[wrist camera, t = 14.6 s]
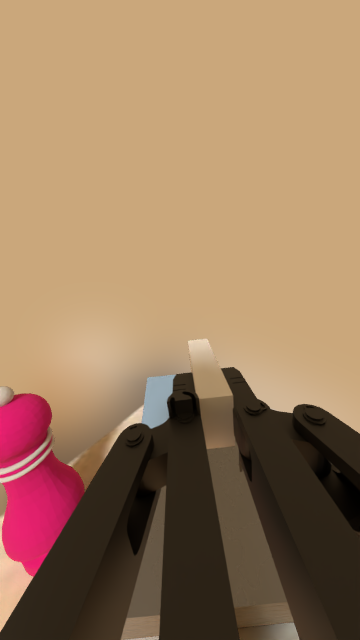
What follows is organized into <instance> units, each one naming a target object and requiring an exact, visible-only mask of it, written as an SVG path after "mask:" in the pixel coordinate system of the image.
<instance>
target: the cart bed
mask: <svg viewBox="0 0 360 640" xmlns="http://www.w3.org/2000/svg"><path fill="white" fill-rule="evenodd" d="M207 454H208V459H209V465H210V471H211V477H212V483H213V488H214V494H215V500H216V506H217V512H218V517H219V523H220V529H221V535H222V540H223V546H224V552H225V558H226V564H227V569H228V575H229V581H230V587H231V593H232V598H233V604H234V610H235V616H236V622H237V627H238V628H241V627H251V626H261V625H271V624H280V623H290V622H294V620H293V617H292V614H291V611H290V608H289V605H288V602H287V599H286V596H285V593H284V590H283V587H282V585H281V582H280V579H279V576H278V573H277V570H276V567H275V564H274V561H273V558H272V555H271V552H270V549H269V546H268V543H267V540H266V537H265V534H264V531H263V528H262V525H261V522H260V519H259V516H258V513H257V510H256V507H255V504H254V501H253V498H252V495H251V492H250V489H249V486H248V483H247V480H246V477H245V474H244V471H243V468H242V471H243V472H240V469H239V449H238V445H237V442H236V439H235V446H231V447H221V448H212V449H207ZM165 501H166V486H164V487H162V488H161V492H160V495H159V499H158V503H157V506H156V510H155V514H154V518H153V521H152V525H151V529H150V532H149V536H148V540H147V544H146V547H145V551H144V555H143V558H142V562H141V566H140V570H139V573H138V577H137V581H136V584H135V588H134V592H133V596H132V599H131V603H130V607H129V610H128V614H127V618H126V622H125V625H124V629H123V633H122V637H121V640H124V639H134V638H144V637H153V636H159V629H160V607H161V586H162V565H163V544H164V522H165Z"/></svg>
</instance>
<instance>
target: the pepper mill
mask: <svg viewBox="0 0 360 640" xmlns="http://www.w3.org/2000/svg"><path fill="white" fill-rule="evenodd" d="M51 418H52V412H51V408H50V406H49V404H48V403H47V401H46V400H45V399H44V398H42V397H40V396H38V395H35V394H18V395H14V392H13V390H12V389H11V388H9V387H7V386H1V387H0V483H2V484H3V485H4V487H5V490H6V493H7V496H8V502H7V508H6V511H5V516H4V521H3V526H2V541H3V545H4V548H5V551H6V553H7V555H8V556H9V557H10V558H11V559H12V560H14V561H18V562H22V564H23V566H24V568H25V570H26V572H27V573H28V574H29V575H31V576H35V574H36V572H37V571H38V569H39V567H40V566H41V564H42V563H43V561H44V559H45V558H46V556H47V554H48V553H49V551H50V549H51V548H52V546H53V544H54V543H55V541H56V539H57V538H58V536H59V534H60V533H61V531H62V529H63V528H64V526H65V524H66V523H67V521H68V519H69V518H70V516H71V515H72V513H73V511H74V510H75V508H76V506H77V505H78V503H79V501H80V500H81V498H82V496H83V495H84V484H83V481H82V479H81V477H80V475H79V474H78V473H77V472H76V471H75V470H74V469H73V468H72V467H70V466H68V465H66V464H64V463H62V462H60V461H59V460H58V459H57V458H56V457H55V456H54V453H53V451H52V447H53V445H54V441H55V438H54V435H53V434H52V429H51V428H50V427H49V425H50V423H51Z"/></svg>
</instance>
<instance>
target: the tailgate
mask: <svg viewBox="0 0 360 640" xmlns="http://www.w3.org/2000/svg"><path fill="white" fill-rule="evenodd" d="M175 376H176V375H169V376H159V377H150V378H147V386H146V393H145V401H144V409H143V417H142V423H143V424H146V425H148V426H149V427H150V428H154V427H156V426H159V425H161V424H163V423H164V422H165V421H167V419H168V418H169V413H168V407H167V399H168V397H169V396H170V395H171V394H172V392H173V379H174V377H175Z"/></svg>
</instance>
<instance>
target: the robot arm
mask: <svg viewBox="0 0 360 640" xmlns="http://www.w3.org/2000/svg"><path fill="white" fill-rule="evenodd" d="M188 347H189V356H190V365H191V373H183V374H176V376H175V377H174V379H173V392H172V394H171V395H170V396H169V397H168V399H167V407H168V413H169V418H168V419H167V421H165V422H164V423H163V424H161V425H159V426H156V427H154V428H150V427H149V426H148V425H146V424H143V423H138V424H133V425H131V426H129V427H127V428H126V429H125V430H123V432H122V433H121V434H120V435H119V437H118V438H117V440H116V442H115V443H114V445H113V447H112V448H111V450H110V452H109V453H108V455H107V457H106V458H105V460H104V462H103V463H102V465H101V467H100V468H99V470H98V471H97V473H96V475H95V476H94V478H93V480H92V481H91V483H90V485H89V486H88V488H87V490H86V491H85V493H84V495H83V496H82V498H81V500H80V501H79V503H78V505H77V506H76V508H75V510H74V511H73V513H72V515H71V516H70V518H69V519H68V521H67V523H66V524H65V526H64V528H63V529H62V531H61V533H60V534H59V536H58V538H57V539H56V541H55V543H54V544H53V546H52V548H51V549H50V551H49V553H48V554H47V556H46V558H45V559H44V561H43V563H42V564H41V566H40V567H39V569H38V571H37V572H36V574H35V576H34V577H33V579H32V581H31V582H30V584H29V586H28V587H27V589H26V591H25V592H24V594H23V596H22V597H21V599H20V601H19V602H18V604H17V606H16V607H15V609H14V610H13V612H12V614H11V615H10V617H9V619H8V620H7V622H6V624H5V625H4V627H3V629H2V630H1V632H0V640H121V637H122V633H123V629H124V625H125V622H126V618H127V614H128V610H129V607H130V603H131V599H132V596H133V592H134V588H135V584H136V581H137V577H138V573H139V570H140V566H141V562H142V558H143V555H144V551H145V547H146V544H147V540H148V536H149V532H150V529H151V525H152V521H153V518H154V514H155V510H156V506H157V503H158V499H159V495H160V492H161V488H162V487H164V486H166V501H165V522H164V544H163V565H162V586H161V607H160V629H159V640H240V639H239V633H238V627H237V622H236V616H235V610H234V604H233V598H232V593H231V587H230V581H229V575H228V569H227V564H226V558H225V552H224V546H223V540H222V535H221V529H220V523H219V517H218V512H217V506H216V500H215V494H214V488H213V483H212V477H211V471H210V465H209V459H208V454H207V449H212V448H221V447H231V446H235V439H236V442H237V445H238V449H239V469H240V472H243V471H244V474H245V477H246V480H247V483H248V486H249V489H250V492H251V495H252V498H253V501H254V504H255V507H256V510H257V513H258V516H259V519H260V522H261V525H262V528H263V531H264V534H265V537H266V540H267V543H268V546H269V549H270V552H271V555H272V558H273V561H274V564H275V567H276V570H277V573H278V576H279V579H280V582H281V585H282V587H283V590H284V593H285V596H286V599H287V602H288V605H289V608H290V611H291V614H292V617H293V620H294V623H295V626H296V629H297V632H298V635H299V638H300V640H360V434H359V433H358V432H356V431H355V430H353V429H352V428H351V427H349V426H348V425H346V424H345V423H343V422H342V421H340V420H339V419H337V418H336V417H334V416H333V415H332V414H330V413H329V412H327V411H325V410H323V409H322V408H320V407H316V406H314V405H308V404H302V405H298V406H296V407H295V408H294V410H293V413H287V412H279V411H275V410H272V409H270V407H269V406H268V405H267V404H266V403H264V402H263V401H261V400H259V399H257V398H256V396H255V395H254V393H253V392H252V390H251V388H250V387H249V385H248V384H247V382H246V381H245V379H244V378H243V376H242V374H241V373H240V371H238V370H237V369H235V368H234V367H230V368H222V369H221V368H220V366H219V364H218V361H217V360H216V357H215V355H214V353H213V351H212V348H211V346H210V344H209V342H208V340H207V339H200V340H191V341H188ZM242 468H243V471H242Z"/></svg>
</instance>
